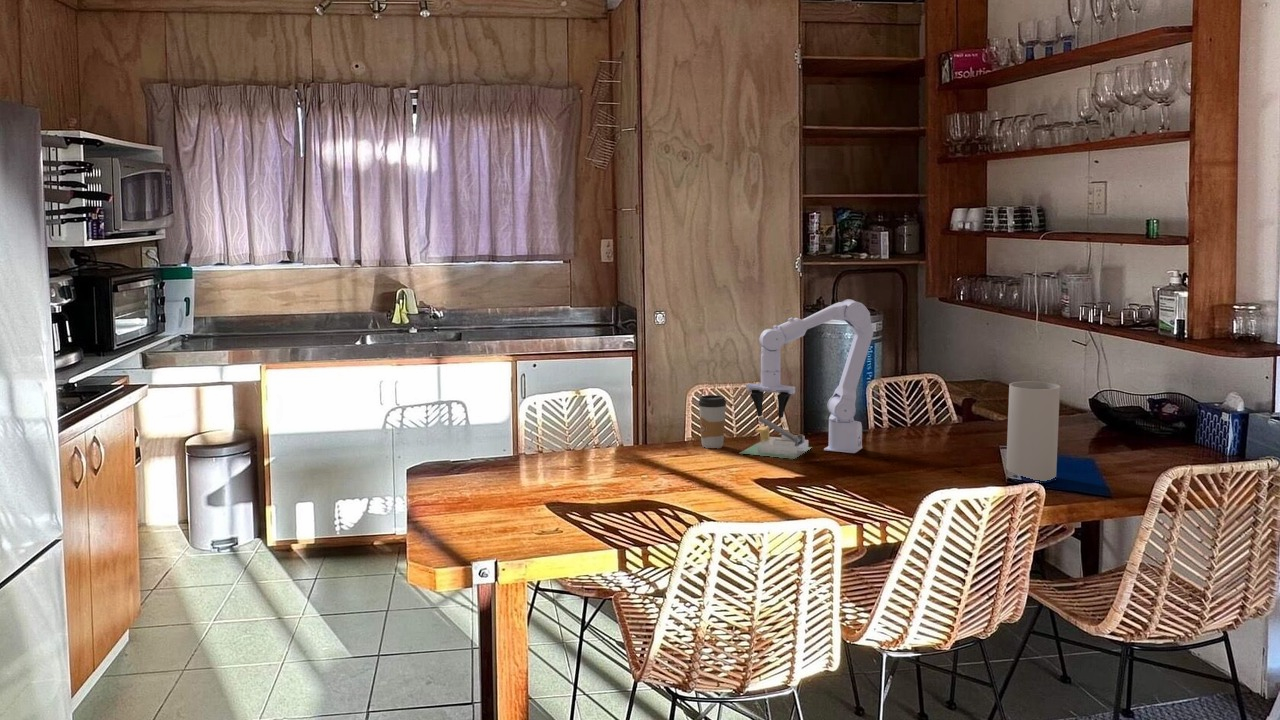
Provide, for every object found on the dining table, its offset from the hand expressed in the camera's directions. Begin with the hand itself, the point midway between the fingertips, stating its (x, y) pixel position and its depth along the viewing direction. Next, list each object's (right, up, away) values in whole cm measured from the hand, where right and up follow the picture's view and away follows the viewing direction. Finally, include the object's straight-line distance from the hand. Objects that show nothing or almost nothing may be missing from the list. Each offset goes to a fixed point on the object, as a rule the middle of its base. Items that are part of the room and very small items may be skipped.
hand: (770, 416), depth 339 cm
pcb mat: (+2, -10, +2) cm, 11 cm away
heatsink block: (+4, -10, 0) cm, 11 cm away
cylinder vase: (+65, -15, -34) cm, 74 cm away
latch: (-2, -9, +7) cm, 12 cm away
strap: (+2, -4, -1) cm, 5 cm away
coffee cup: (-16, -10, +9) cm, 21 cm away
